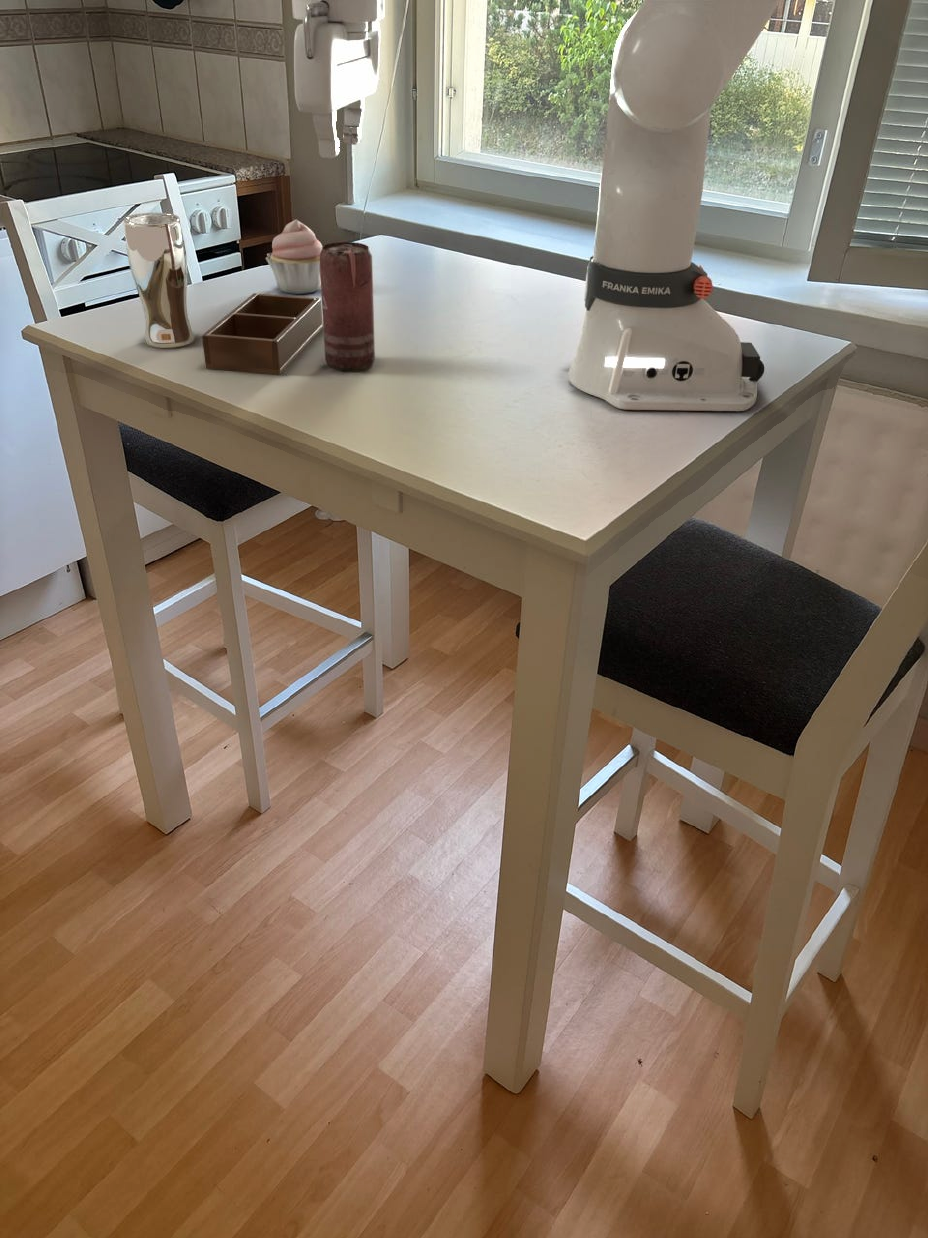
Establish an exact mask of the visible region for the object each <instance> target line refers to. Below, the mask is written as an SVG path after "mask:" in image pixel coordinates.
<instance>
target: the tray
mask: <svg viewBox="0 0 928 1238" xmlns="http://www.w3.org/2000/svg"><path fill="white" fill-rule="evenodd" d="M322 330H324V328H323V311H322V298H321V297H309V296H308V297H307V296H295V295H284V294H283V295H282V294H268V293H255V292H253V293H252V294H251V295H250V296H249V297H247V298H246V299H245V300H243V301H242V302H241V303H239V304H238V305H237V306H236V307H235V308H233V309H232V310H231V311H230V312H228V313H227V314H226V315H225V316H224V317H222V318H221V319H220V320H219V321H218V322H216V323H215V324H214V325H213V326H212V327H211V326H210V328H209V329H207V330H206V331H205V332H204V333H202V334H201V341H202V347H203V348H202V349H203V356H204V363H205V369H208V370H220V371H231V372H243V373H244V372H245V373H255V374H266V375H267V374H268V375H277V376H280V375H282V373H284V371H285V370H286V369H287V368H288V367H289V366H290V364H291V363H292V362H293V361H295V359H296V358H297V357H298V356H299V355H300V354H301V353H302V352H303V350H305V348H307V346H308V345H309V344H310V343H311V342H312V341H313V340H314V338H315V337H316V336H317V335H318V334H319V333H320V332H321V331H322Z"/></svg>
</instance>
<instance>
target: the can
mask: <svg viewBox="0 0 928 1238" xmlns="http://www.w3.org/2000/svg"><path fill="white" fill-rule="evenodd" d="M319 260H320V277H321V286H320V292H321V311H322V327H323V341H324V342H323V343H324V346H323V347H324V361H325V362H326V365H327V366H328V367H329V368H330V369H333V370H335V371H338V372H344V373H345V372H348V373H351V372H352V373H353V372H362V371H365V370H368V369H370V368H371V367H372V366H373V364H374V363H375V360H376V346H375V313H374V312H375V311H374V278H373V276H374V274H373V254H372V253H371V251H370V248H369V246H368V245H367V244H364V243H360V242H354V241H337V242H329V243H326V244H324V245H322V250H321V253H320V255H319Z"/></svg>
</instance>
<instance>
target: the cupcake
mask: <svg viewBox="0 0 928 1238" xmlns="http://www.w3.org/2000/svg"><path fill="white" fill-rule="evenodd" d="M271 243H272V244H271V248H272V252H269V253H267V254H266V257H265V260H266V262H267V263H268V264H269V267H270V268H271V270H272V273H273V276H274V279H275V282H276V285H277V288H278V290H279V291H281V292H283V293H286V294H292V295H293V294H294V295H301V294H302V295H305V294H310V293H311V294H312V293H314V292H317V291H319V290H320V289H321V277H320V260H319V255H320V253H321V250H322V247H323V245H322V242H321V241H319V239H317V237H316V234H315V233H314V231H313V230H312V229H311V228H310V227H308V226H307V225H305V224H304V223H302V222H301V221H299V220H298V219H294V220H293V221H291V222H289V223H286V225H285V226H284V228H283V231H282V232H281V233H280V234H277V235H276V236H274V238H273V239H272V242H271Z"/></svg>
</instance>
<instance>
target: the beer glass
mask: <svg viewBox="0 0 928 1238" xmlns="http://www.w3.org/2000/svg"><path fill="white" fill-rule="evenodd" d="M122 221H123V227H124V238H125V247H126V256H127V260H128V265H129V269H130V273H131V276H132V279H133V282H134V286H135V288H136V291H137V293H138V296H139V299H140V302H141V306H142V310H143V314H144V321H145V322H144V323H145V329H144V330H145V333H144V335H145V337H144V339H145V343H146V344H147V345H148V346H150V347H153V348H159V349H175V348H182V347H185V346H188V345H190V344H192V343H193V342H194V340H195V335H194V333H193V329H192V325H191V322H190V319H189V314H188V305H187V303H188V302H187V299H188V296H187V295H188V258H187V250H186V244H185V238H184V235H183V230H182V225H181V220H180V216H179V215H177V214H173V213H169V212H142V213H133V214H130V215H127V216H125V217H123V220H122Z"/></svg>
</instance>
